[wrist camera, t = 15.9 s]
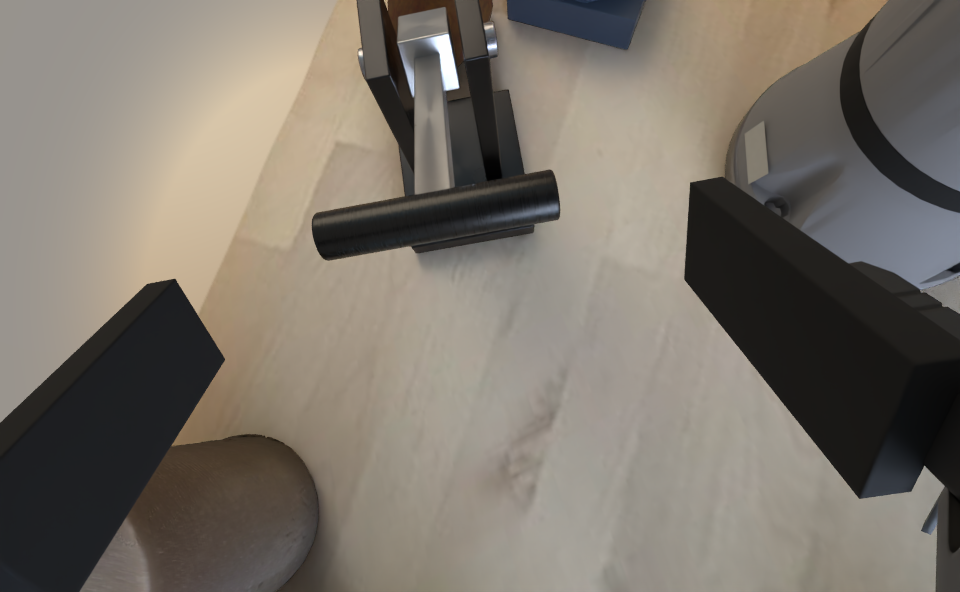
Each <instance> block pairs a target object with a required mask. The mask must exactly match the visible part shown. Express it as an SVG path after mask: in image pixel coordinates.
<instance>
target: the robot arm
mask: <svg viewBox="0 0 960 592" xmlns="http://www.w3.org/2000/svg"><path fill="white" fill-rule="evenodd" d="M958 276H960V0H889V1H888V2H887V3H886V4H885V5H884V6H883V7H882V8H881V10H880V11H879V12H878V13H877V14H876V15H875V16H874V17H873V18H872V19H871V20H870V22H869V23H868V24H867V25H866V26H865V27H864V28H863V29H862V30H861V31H860V32H858V33H856V34H855V35H853V36H851V37H849V38H848V39H846V40H844V41H843V42H841V43H839V44H837V45H836V46H834V47H832V48H831V49H829V50H827V51H826V52H824V53H822V54H821V55H819V56H817V57H816V58H814V59H812V60H811V61H809V62H808V63H806V64H804V65H802V66H800V67H798V68H796V69H794V70H792V71H791V72H789V73H788V74H786V75H785V76H783V77H781V78H780V79H779V80H777V81H776V82H775V83H774V84H772V85H771V86H770V87H769V88H768V89H767V90H766V91H765V92H764V93H763V94H762V95H761V96H760V97H759V98H758V100H757V101H756V102H755V103H754V105H753V106H752V107H751V108H750V110H749V111H748V112H747V114H746V115H745V116H744V117H743V119H742V120H741V122H740V123H739V125H738V127H737V129H736V130H735V132H734V134H733V137H732V139H731V142H730V144H729V148H728V152H727V157H726V164H725V178H724V177H718V178H713V179H707V180H702V181H696V182H691V183H690V195H689V212H688V228H687V244H686V260H685V276H684V280H685V281H686V282H687V283H688V285H689V286H690V287H691V288H692V290H693V291H694V292H695V293H696V295H697V296H698V297H699V298H700V300H701V301H702V302H703V303H704V305H705V306H706V307H707V308H708V310H709V311H710V312H711V313H712V315H713V316H714V317H715V318H716V320H717V321H718V322H719V323H720V325H721V326H722V327H723V328H724V330H725V331H726V332H727V333H728V335H729V336H730V337H731V338H732V340H733V341H734V342H735V344H736V345H737V346H738V347H739V349H740V350H741V351H742V352H743V354H744V355H745V356H746V357H747V359H748V360H749V361H750V362H751V364H752V365H753V366H754V367H755V369H756V370H757V371H758V372H759V374H760V375H761V376H762V377H763V379H764V380H765V381H766V382H767V384H768V385H769V386H770V387H771V389H772V390H773V391H774V392H775V394H776V395H777V396H778V397H779V399H780V400H781V401H782V402H783V404H784V405H785V406H786V407H787V409H788V410H789V411H790V412H791V414H792V415H793V416H794V417H795V419H796V420H797V421H798V422H799V424H800V425H801V426H802V427H803V429H804V430H805V431H806V432H807V434H808V435H809V436H810V437H811V439H812V440H813V441H814V443H815V444H816V445H817V446H818V448H819V449H820V450H821V451H822V453H823V454H824V455H825V456H826V458H827V459H828V460H829V461H830V463H831V464H832V465H833V466H834V468H835V469H836V470H837V471H838V473H839V474H840V475H841V476H842V478H843V479H844V480H845V481H846V483H847V484H848V485H849V486H850V488H851V489H852V490H853V491H854V493H855V494H856V495H857V496H858V498H859V499H862V498H869V497H876V496H883V495H890V494H897V493H904V492H911V491H912V489H913V487H914V485H915V483H916V481H917V479H918V477H919V475H920V473H921V471H922V469H923V467H924V465H925V466H926V467H927V468H928V469H929V470H930V472H931V473H932V474H933V475H934V476H935V477H936V478H937V479H938V480H939V481H940V482H941V483H942V484H943V485H944V486H945V487H944V489H943V491H942V492H941V494H940V496H939V498H938V499H937V501H936V503H935V505H934V506H933V508H932V510H931V512H930V513H929V515H928V517H927V519H926V520H925V523H924V525H923V527H922V530H921V531H923V532H925V533H928V534H930V535H931V533H932V532H933V530H934V528H935V527H936V525H937V556H936V592H960V314H958V313H957V312H955V311H953V310H952V309H950V308H949V307H943V306H942V303H941V302H939V301H938V300H936V299H935V298H933V297H932V296H930V295H928V294H927V293H921V292H920V290H922V289H926V288H930V287H933V286H937V285H940V284H942V283H945V282H947V281H950V280H952V279H954V278H956V277H958ZM224 361H225V358H224V357H223V355H222V353H221V352H220V350H219V349H218V347H217V345H216V344H215V342H214V341H213V339H212V337H211V336H210V334H209V332H208V331H207V329H206V328H205V326H204V324H203V323H202V321H201V320H200V318H199V316H198V315H197V313H196V312H195V310H194V308H193V307H192V305H191V304H190V302H189V300H188V299H187V297H186V295H185V294H184V292H183V291H182V289H181V287H180V286H179V284H178V283H177V281H176V279H171V280H167V281H161V282H155V283H150V284H147V285H146V286H145V287H143V288H142V290H140V291H139V292H138V293H137V294H136V295H135V296H134V297H133V298H132V299H131V300H130V301H129V302H128V303H127V304H125V305H124V307H122V308H121V309H120V310H119V311H118V312H117V313H116V314H115V315H114V316H113V317H112V318H111V319H110V320H109V321H108V322H106V323H105V324H104V325H103V326H102V327H101V328H100V329H99V330H98V331H97V332H96V333H95V334H94V335H93V336H92V337H91V338H90V339H89V340H87V341H86V342H85V343H84V344H83V345H82V346H81V347H80V348H79V349H78V350H77V351H76V352H75V353H74V354H73V355H72V356H70V357H69V358H68V359H67V360H66V361H65V362H64V363H63V364H62V365H61V366H60V367H59V368H58V369H57V370H56V371H55V372H54V373H52V374H51V375H50V376H49V377H48V378H47V379H46V380H45V381H44V382H43V383H42V384H41V385H40V386H39V387H38V388H37V389H36V390H34V391H33V392H32V393H31V394H30V395H29V396H28V397H27V398H26V399H25V400H24V401H23V402H22V403H21V404H20V405H19V406H18V407H17V408H15V409H14V410H13V411H12V412H11V413H10V414H9V415H8V416H7V417H6V418H5V419H4V420H3V421H2V422H1V423H0V592H80V590H81V588H82V587H83V585H84V584H85V582H86V581H87V579H88V577H89V576H90V574H91V573H92V571H93V569H94V568H95V566H96V565H97V563H98V561H99V560H100V558H101V557H102V555H103V553H104V552H105V550H106V549H107V547H108V545H109V544H110V542H111V541H112V539H113V538H114V536H115V534H116V533H117V531H118V530H119V528H120V526H121V525H122V523H123V522H124V520H125V518H126V517H127V515H128V514H129V512H130V510H131V509H132V507H133V506H134V504H135V502H136V501H137V499H138V498H139V496H140V494H141V493H142V491H143V490H144V488H145V487H146V485H147V483H148V482H149V480H150V479H151V477H152V475H153V474H154V472H155V471H156V469H157V467H158V466H159V464H160V463H161V461H162V459H163V458H164V456H165V455H166V453H167V451H168V450H169V448H170V447H171V445H172V444H173V442H174V440H175V439H176V437H177V436H178V434H179V432H180V431H181V429H182V428H183V426H184V424H185V423H186V421H187V420H188V418H189V416H190V415H191V413H192V412H193V410H194V408H195V407H196V405H197V404H198V402H199V400H200V399H201V397H202V396H203V394H204V393H205V391H206V389H207V388H208V386H209V385H210V383H211V381H212V380H213V378H214V377H215V375H216V373H217V372H218V370H219V369H220V367H221V365H222V364H223V362H224Z"/></svg>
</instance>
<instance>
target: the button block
mask: <svg viewBox="0 0 960 592" xmlns="http://www.w3.org/2000/svg"><path fill="white" fill-rule="evenodd" d="M645 2H646V0H507V12H508V19H510V20H514V21H518V22H521V23H525V24H529V25H533V26H537V27H541V28H545V29H548V30H552V31H556V32H560V33H564V34H568V35H571V36H575V37H579V38H583V39H587V40H591V41H595V42H598V43H602V44H606V45H610V46H614V47H618V48H622V49H625V50H627V49H628V47H629V44H630V42H631V39H632V36H633V34H634V31H635V28H636V26H637V23H638V20H639V18H640V15H641V12H642V10H643V7H644V4H645Z"/></svg>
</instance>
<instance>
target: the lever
mask: <svg viewBox="0 0 960 592" xmlns="http://www.w3.org/2000/svg"><path fill="white" fill-rule="evenodd" d="M397 47H398V51H399V54H400V58H401V62H402V65H403V69H404V72H405V76H406V79H407V83H408V87H409V90H410V94H411V97H412V98H414V190H415V195H410V196H405V197H399V198H394V199H388V200H383V201H377V202H372V203H367V204H361V205H356V206H350V207H345V208H340V209H334V210H329V211H323V212H318V213H316V214H315V215H314V216H313V219H312V233H313V238H314V242H315V245H316V248H317V250H318V252H319V254H320V255H321V257H322V258H323V259H325V260H328V261H330V260H335V259H341V258H346V257H352V256H358V255H363V254H369V253H374V252H380V251H386V250H391V249H397V248H402V247H408V246H414V245H419V244H425V243H431V242H436V241H442V240H447V239H453V238H459V237H464V236H470V235H475V234H481V233H487V232H492V231H498V230H503V229H509V228H515V227H520V226H526V225H531V224H537V223H543V222H548V221H554V220H558V219H559V217H560V201H559V193H558V187H557V183H556V178H555V175H554V173H553V171H552V170H545V171H540V172H534V173H529V174H523V175H518V176H513V177H507V178H502V179H496V180H491V181H486V182H480V183H475V184H469V185H464V186H459V187H455V184H454V173H453V162H452V151H451V140H450V129H449V118H448V107H447V96H446V91H450V90H455V89H459V88H460V83H459V75H458V68H457V60H456V55H455V50H454V44H453V39H452V34H451V29H450V23H449V18H448V13H447V8H446V7H442V8H437V9H433V10H428V11H423V12H418V13H414V14H409V15H404V16H399V17H398V27H397Z"/></svg>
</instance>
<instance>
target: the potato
mask: <svg viewBox="0 0 960 592" xmlns="http://www.w3.org/2000/svg"><path fill="white" fill-rule="evenodd" d="M479 2H480V7H481V13H482V18H483V23H485V22H489V20H490V17H491V12H492V8H493V3H492V0H479ZM442 7H446V8H447V13H448V18H449V23H450V29H451V34H452V39H453V44H454V50H455V55H456V60H457V67H458V66H459V65H460V64H461V63H462V62H463V61H464V56H463V50H462V44H461V38H460V32H459V26H458V20H457V14H456V8H455V2H454V0H388V13H389V16H390V19H391V22H392V24H393V27H394V30H395V33H396V36H397V27H398V17H399V16H404V15H409V14H414V13H418V12H423V11H428V10H433V9H437V8H442Z"/></svg>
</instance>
